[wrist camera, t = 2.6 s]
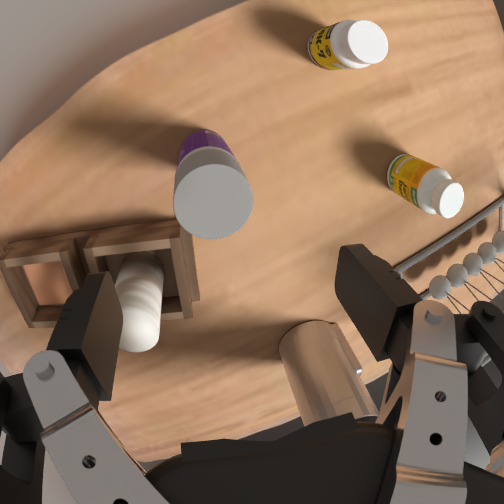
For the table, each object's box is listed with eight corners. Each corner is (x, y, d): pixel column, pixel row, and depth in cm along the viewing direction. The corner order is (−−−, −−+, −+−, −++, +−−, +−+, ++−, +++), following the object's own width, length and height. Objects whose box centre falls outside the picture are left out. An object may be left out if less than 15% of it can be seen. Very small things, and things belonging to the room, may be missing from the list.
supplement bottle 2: (423, 174, 35) (473, 201, 27) (398, 201, 36) (445, 234, 28) (405, 144, 33) (459, 166, 24) (378, 172, 34) (427, 201, 26)
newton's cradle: (506, 192, 40) (578, 237, 25) (504, 237, 45) (564, 285, 30) (384, 271, 42) (456, 356, 27) (392, 315, 47) (448, 392, 32)
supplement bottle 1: (308, 24, 24) (345, 7, 17) (349, 35, 25) (394, 25, 18) (303, 65, 27) (340, 59, 19) (345, 74, 27) (389, 74, 20)
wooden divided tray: (189, 217, 33) (190, 278, 23) (199, 292, 38) (205, 364, 28) (8, 242, 29) (-37, 297, 19) (34, 306, 34) (5, 367, 24)
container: (174, 138, 28) (158, 178, 15) (219, 123, 28) (243, 150, 15) (188, 180, 31) (187, 252, 18) (232, 166, 31) (264, 227, 18)
